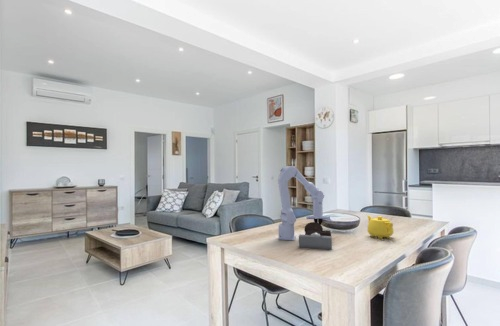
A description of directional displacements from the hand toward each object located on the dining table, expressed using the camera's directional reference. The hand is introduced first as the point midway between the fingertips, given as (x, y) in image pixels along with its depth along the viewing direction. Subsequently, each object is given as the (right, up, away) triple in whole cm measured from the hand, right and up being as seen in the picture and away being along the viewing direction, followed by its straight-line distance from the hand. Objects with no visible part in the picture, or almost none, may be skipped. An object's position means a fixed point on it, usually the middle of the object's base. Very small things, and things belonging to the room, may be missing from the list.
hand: (318, 230), depth 174 cm
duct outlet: (-8, -2, -26) cm, 27 cm away
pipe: (-3, -3, -11) cm, 12 cm away
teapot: (+36, -2, -5) cm, 37 cm away
